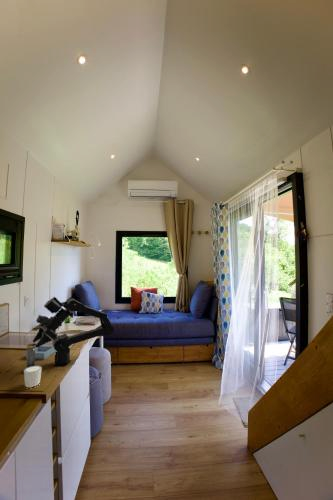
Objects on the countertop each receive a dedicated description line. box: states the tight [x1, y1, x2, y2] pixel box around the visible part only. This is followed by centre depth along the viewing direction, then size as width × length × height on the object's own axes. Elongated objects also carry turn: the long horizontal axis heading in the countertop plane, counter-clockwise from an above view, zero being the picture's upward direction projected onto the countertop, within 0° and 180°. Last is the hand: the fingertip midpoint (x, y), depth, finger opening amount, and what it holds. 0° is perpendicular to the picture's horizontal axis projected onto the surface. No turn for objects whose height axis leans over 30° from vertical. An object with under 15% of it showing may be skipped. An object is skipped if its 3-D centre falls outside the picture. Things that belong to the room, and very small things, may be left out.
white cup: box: [23, 365, 43, 387], centre depth 108 cm, size 7×7×7 cm
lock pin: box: [23, 342, 37, 371], centre depth 122 cm, size 6×6×12 cm
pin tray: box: [25, 345, 56, 361], centre depth 142 cm, size 11×11×4 cm
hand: (34, 344), depth 124 cm, fingers open, 9 cm apart
